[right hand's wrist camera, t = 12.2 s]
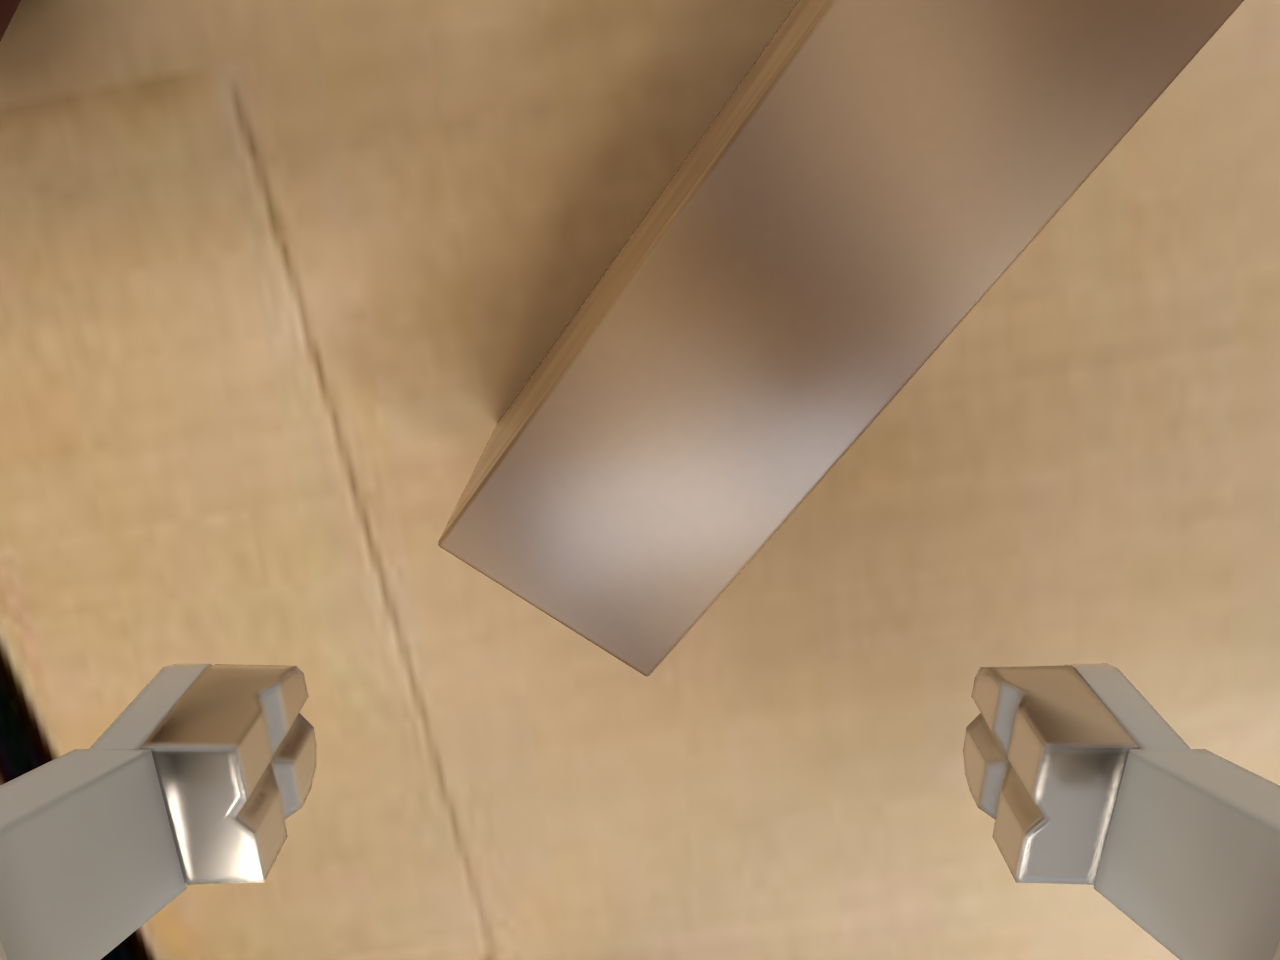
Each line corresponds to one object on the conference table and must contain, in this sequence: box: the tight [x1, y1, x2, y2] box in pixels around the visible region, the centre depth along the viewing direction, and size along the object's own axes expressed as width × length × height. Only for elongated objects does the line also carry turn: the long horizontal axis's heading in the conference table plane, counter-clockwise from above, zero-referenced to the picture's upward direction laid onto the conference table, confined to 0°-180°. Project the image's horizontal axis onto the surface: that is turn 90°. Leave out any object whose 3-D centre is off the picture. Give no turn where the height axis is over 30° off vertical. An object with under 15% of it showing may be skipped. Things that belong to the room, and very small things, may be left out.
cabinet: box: [438, 0, 1244, 676], centre depth 20 cm, size 19×6×8 cm, turn 143°
